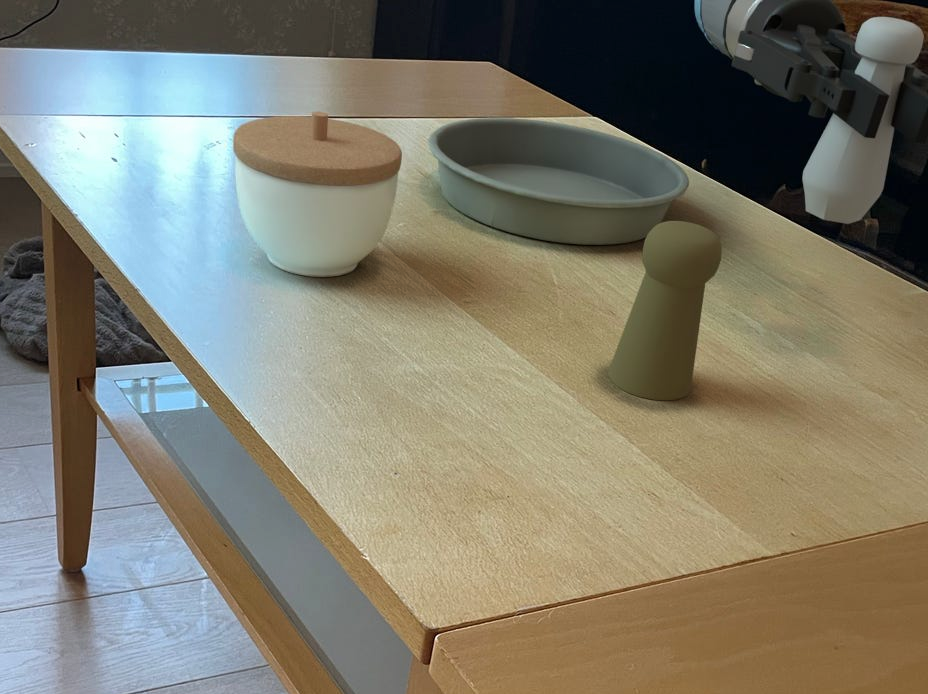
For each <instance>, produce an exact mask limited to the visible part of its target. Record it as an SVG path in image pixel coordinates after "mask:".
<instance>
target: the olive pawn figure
mask: <svg viewBox="0 0 928 694" xmlns="http://www.w3.org/2000/svg"><path fill="white" fill-rule="evenodd" d="M641 255H642V256H641V257H642V259H641V260H642V265H643V267H644V269H645V272H644V276H643V278H642V280H641V283H640V286H639V288H638V291H637V294H636V296H635V299H634V301H633V304H632V307H631V309H630V313H629V315H628V318H627V320H626V323H625V325H624V328H623V331H622V334H621V336H620V339H619V342H618V344H617V347H616V350H615V352H614V355H613V358H612V360H611V363H610V366H609V368H608V372H607V376H608V378H609V380H610V382H611V383H612V384H613V385H615V386H616V387H617V388H619V389H620V390H623V391H624V392H626V393H628V394H631V395H633V396H636V397H640V398H642V399H643V398H644V399H649V400H654V401H673V400H679V399H682V398H685V397H687V396H688V395H689V394H690V392H691V391H692V384H693V378H694V377H693V376H694V369H695V362H696V354H697V348H698V340H699V334H700V326H701V319H702V311H703V303H704V298H705V297H704V296H705V289H706V284H707V283H708V281H710V280H711V279H713V277H714V276H715V275H716V273H717V271H718V269H719V267H720V265H721V262H722V261H721V260H722V244H721V240H720V238H719V237H718V236H717V234H716V233H714V232H713V230H711V229H709V228H707V227H705V226H703V225H700V224H696V223H693V222H689V221H681V220H667V221H662V222H661V223H660V224H657V225H656V226H655V227H654V228H653V229H652V230H651V231H650V232H649V233H648V235H647V237H646V238H644V242H643V246H642V252H641Z"/></svg>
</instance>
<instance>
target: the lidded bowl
mask: <svg viewBox="0 0 928 694" xmlns="http://www.w3.org/2000/svg"><path fill="white" fill-rule="evenodd" d="M232 142H233V144H232V145H233V146H232V147H233V148H232V149H233V152H234V176H235V177H234V179H235V180H234V181H235V189H236V190H235V191H236V197H237V203H238V207H239V212H240V214H241V217H242V221H243V222H244V225H245V228H246V229H247V232H248V233H249V235H250V236H251V238H252V240H254V242H255V243H256V244H257V245H258V247H259V248H260V249H261V250H262V251H263V252H264V253H265V254H266V255H267V256H266V257H267V260H268V261H269V263H271V264H272V265H273V266H275V267H276V268H278V269H280V270H283V271H286V272H288V273H291V274H295V275H300V276H304V277H305V276H306V277H313V278H327V277H328V278H329V277H339V276H342V275H347V274H349V273H351V272H353V271H354V270H355V269H356V268H357V267H358V263H360V261H362V260H363V259H365V258H367V256H368V255H369V254H371V252H373V251H374V250H375V248H376V247H377V245H378V244H379V243H380V241H381V240H382V239H383V237H384V235H385V233H386V231H387V229H388V226H389V223H390V220H391V218H392V214H393V211H394V210H393V209H394V206H395V201H396V196H397V190H398V189H397V188H398V182H399V181H398V180H399V171H400V170H401V166H402V160H403V152H402V149H401V147H400V146H399V144H398V143H397V142H396V141H395V140H393V139H392V138H390V137H389V136H388V135H386V134H384V133H381V132H379V131H377V130H374V129H372V128H369V127H367V126H363V125H360V124H356V123H353V122H348V121H343V120H338V119H334V118H333V119H332V118H329V113H328V112H325V111H312V112H311V116H306V115H305V116H304V115H281V116H269V117H263V118H257V119H254V120H250V121H247V122H245V123H242V124H241V125H240V126H238V127H237V128H236V129H235V130H234V133H233V137H232Z"/></svg>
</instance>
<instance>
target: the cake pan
mask: <svg viewBox="0 0 928 694" xmlns="http://www.w3.org/2000/svg"><path fill="white" fill-rule="evenodd" d="M427 140H428V141H427V143H428V147H429V150H430V152H431V154H432V155H433V156H434V158H435V159H437V163H438V164H437V165H438V176H439V184H440V185H439V186H440V192H441V195H442V197H443V198H444V199H445V201H446V202H447V203H448V204H449V205H450V206H452V207H453V208H454V209H455V210H457V211H458V212H460V213H461V214H463V215H465V216H466V217H468V218H470V219H472V220H475V221H477V222H479V223H482V224H484V225H486V226H488V227H492V228H494V229H497V230H500V231H504V232H507V233H510V234H514V235H518V236H522V237H526V238H532V239H535V240H541V241H547V242H554V243H562V244H568V245H569V244H570V245H581V246H582V245H583V246H587V245H588V246H592V245H594V246H608V245H620V244H627V243H632V242H637V241H641V240H643V239H646V237H647V235H648V233H649V232H650V231H651V230H652V229H653V228H654V227H655V226H656V225H657V224H660V223H663V220H664V218H665V217H666V214H667V212H668V210H669V208H670V206H671V204H672V202H674V201H675V200H677V199H679V198H680V197H682V196H683V195H684V194H685V193H686V192H687V190H688V189H689V186H690V180H689V179H690V178H689V176H688V174H687V173H686V171H685V170H684V169H683V168H682V167H681V166H680V165H679V164H678V163H677V162H675V161H674V160H672V159H670V158H669V157H667V156H665V155H664V154H662V153H660V152H658V151H656V150H654V149H652V148H649V147H647V146H644V145H643V144H640V143H637V142H634V141H631V140H629V139H627V138H623V137H620V136H617V135H613V134H609V133H607V132H603V131H598V130H594V129H590V128H586V127H582V126H577V125H571V124H566V123H561V122H560V123H559V122H554V121H553V122H552V121H547V120H537V119H528V118H527V119H526V118H512V117H479V118H469V119H462V120H458V121H454V122H450V123H447V124H444V125H442V126H440V127H438V128H436V129H434V131H432V133H431V134H430V135H429V138H428V139H427Z"/></svg>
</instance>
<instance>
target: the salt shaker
mask: <svg viewBox="0 0 928 694" xmlns="http://www.w3.org/2000/svg"><path fill="white" fill-rule="evenodd" d="M924 39H925V35H924V33H923V30H922V28H920V26H918V25H917V24H915V23H914V22H910V21H908V20H904V19H902V18H895V17H889V16H876V17H871V18H869V19H867V20H866V21H864V22H863V23H862V24H861V27H860V29H859V31H858V33H857V36H856V39H855V42H856V43H855V50H856V52H857V53H858V54H859V55H860V56H861V57H862V59H861V61H860V63H859V65H858V67H857V68H856V70H855V74H857V75H860V76H862V77H863V78H864V79H866V80H867V81H869V82H870V83H872V84H873V85H875V86H876V87H878V88H879V89H881V90H882V91H884V92H885V93H887V94H888V95H889V99H888V102H887V104H886V107H885V110H884V113H883V116H882V119H881V122H880V125H879V128H878V131H877V134H876V137H875V138H865V137H863V136H862V135H861V134H860V133H858V132H857V131H856V130H854V129H853V128H852V127H851V126H849V125H848V124H847V123H845V122H844V121H843V120H842V119H840V118H839V117H838V116H837V115H835V114H834V113H833V112H832V115H831V116H830V119H829V121H828V122H827V125H826V126H825V129H824V130H823V133H822V134H821V136H820V138H819V139H818V142H817V144H816V146H815V147H814V149H813V151H812V153H811V155H810V157H809V159H808V160H807V162H806V165H805V167H804V168H803V171H802V178H801V179H802V184H803V191H804V204H805V212H807V213H808V214H811V215H813V216H815V217H818V218H819V219H821V220H823V221H829V222H834V223H835V222H836V223H841V224H846V225H848V224H852V223H855V222H856V223H857V222H859V221H861V220H862V219H863V218H864V216H865V215H866V214H867V213H868V211H869V210H870V209H871V208H872V207H873V205H874V204H875V203H876V201H877V200H878V199H879V198H880V197H881V195H882V192H883V190H884V188H885V181H886V176H887V171H888V165H889V161H890V160H889V159H890V155H891V150H892V149H891V148H892V143H893V138H894V133H895V128H894V127H892V126H891V123H892V119H893V114H894V109H895V105H896V101H897V97H898V93H899V89H900V85H901V82H903V78H904V72H905V67H906V65H907V64H911V65H912V64H913V63H915V62H916V61H917V59H918V58H919V55H920V53H921V51H922V49H923V43H924Z"/></svg>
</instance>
